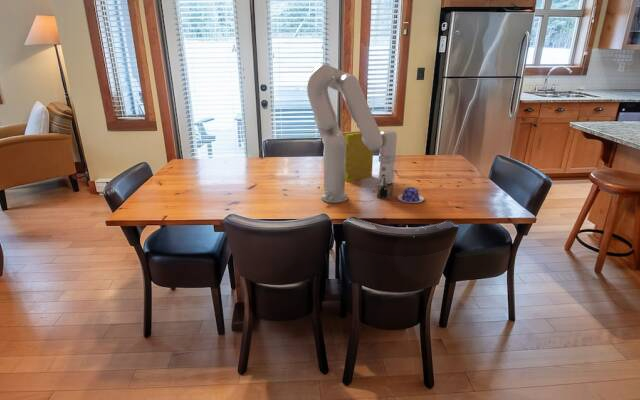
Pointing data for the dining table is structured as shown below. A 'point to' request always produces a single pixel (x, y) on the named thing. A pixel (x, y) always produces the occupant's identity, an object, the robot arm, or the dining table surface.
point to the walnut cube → (389, 190)
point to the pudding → (410, 195)
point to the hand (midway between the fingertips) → (385, 194)
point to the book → (357, 157)
